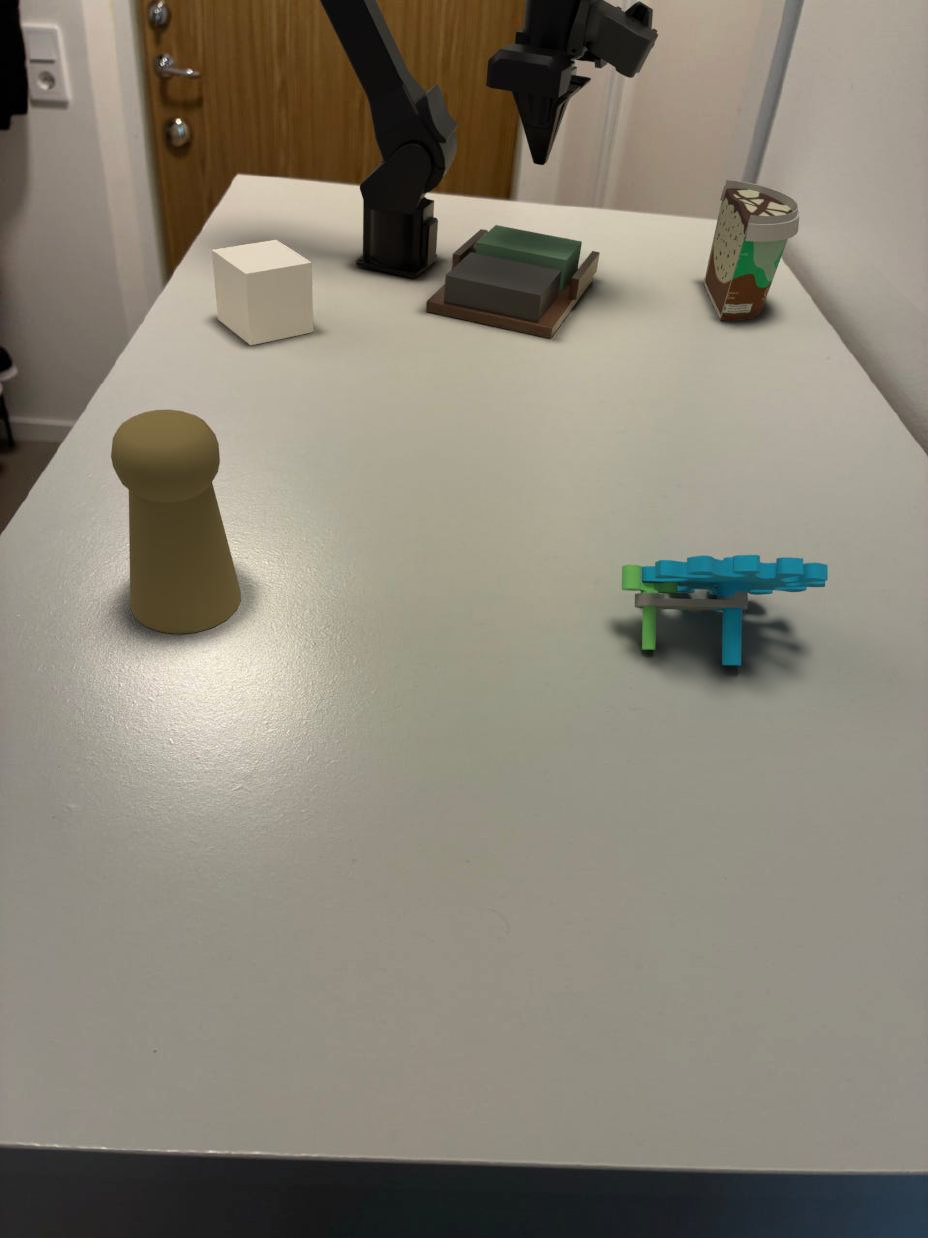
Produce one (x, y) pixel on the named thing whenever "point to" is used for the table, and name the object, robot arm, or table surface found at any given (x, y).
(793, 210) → the food container
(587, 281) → the frame
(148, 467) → the cork
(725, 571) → the gear
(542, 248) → the sage pad
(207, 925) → the table surface
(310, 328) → the cream cube
